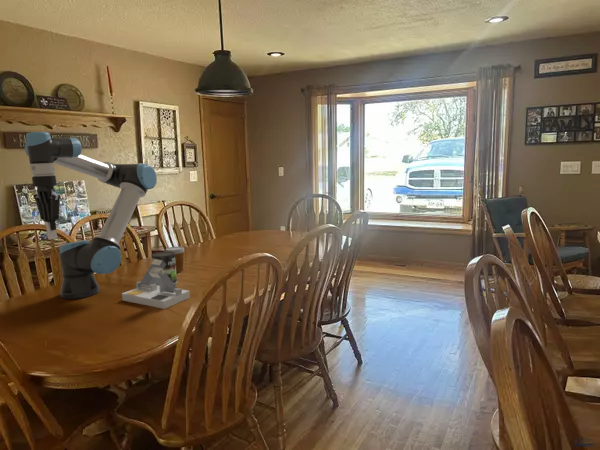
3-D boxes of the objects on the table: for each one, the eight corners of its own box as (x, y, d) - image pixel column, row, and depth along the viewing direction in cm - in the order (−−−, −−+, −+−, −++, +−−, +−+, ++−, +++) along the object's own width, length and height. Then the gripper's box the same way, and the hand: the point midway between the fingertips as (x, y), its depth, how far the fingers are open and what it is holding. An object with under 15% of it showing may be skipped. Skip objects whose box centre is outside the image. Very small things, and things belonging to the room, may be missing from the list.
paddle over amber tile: (137, 284, 183) (152, 259, 190) (141, 288, 186) (156, 262, 192) (148, 286, 180) (164, 260, 187) (153, 290, 182) (167, 264, 189)
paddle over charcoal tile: (163, 292, 178) (146, 272, 170) (167, 287, 180) (151, 266, 172) (175, 294, 175) (159, 274, 166) (179, 289, 176) (163, 268, 168)
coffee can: (181, 280, 205) (179, 251, 202) (170, 287, 195) (168, 256, 192) (161, 279, 207) (158, 251, 204) (149, 286, 197) (147, 256, 195)
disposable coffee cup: (163, 273, 219) (160, 249, 217) (175, 268, 227) (173, 245, 225) (178, 274, 215) (176, 250, 213) (190, 269, 224) (188, 246, 222)
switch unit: (122, 300, 179) (121, 287, 178) (148, 290, 191) (147, 278, 190) (164, 308, 168) (163, 295, 167) (190, 297, 180) (189, 285, 179)
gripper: (22, 176, 158) (32, 239, 162) (44, 176, 152) (53, 241, 156) (43, 174, 164) (51, 235, 169) (64, 174, 158) (72, 237, 162)
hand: (52, 238), depth 162 cm, fingers closed
